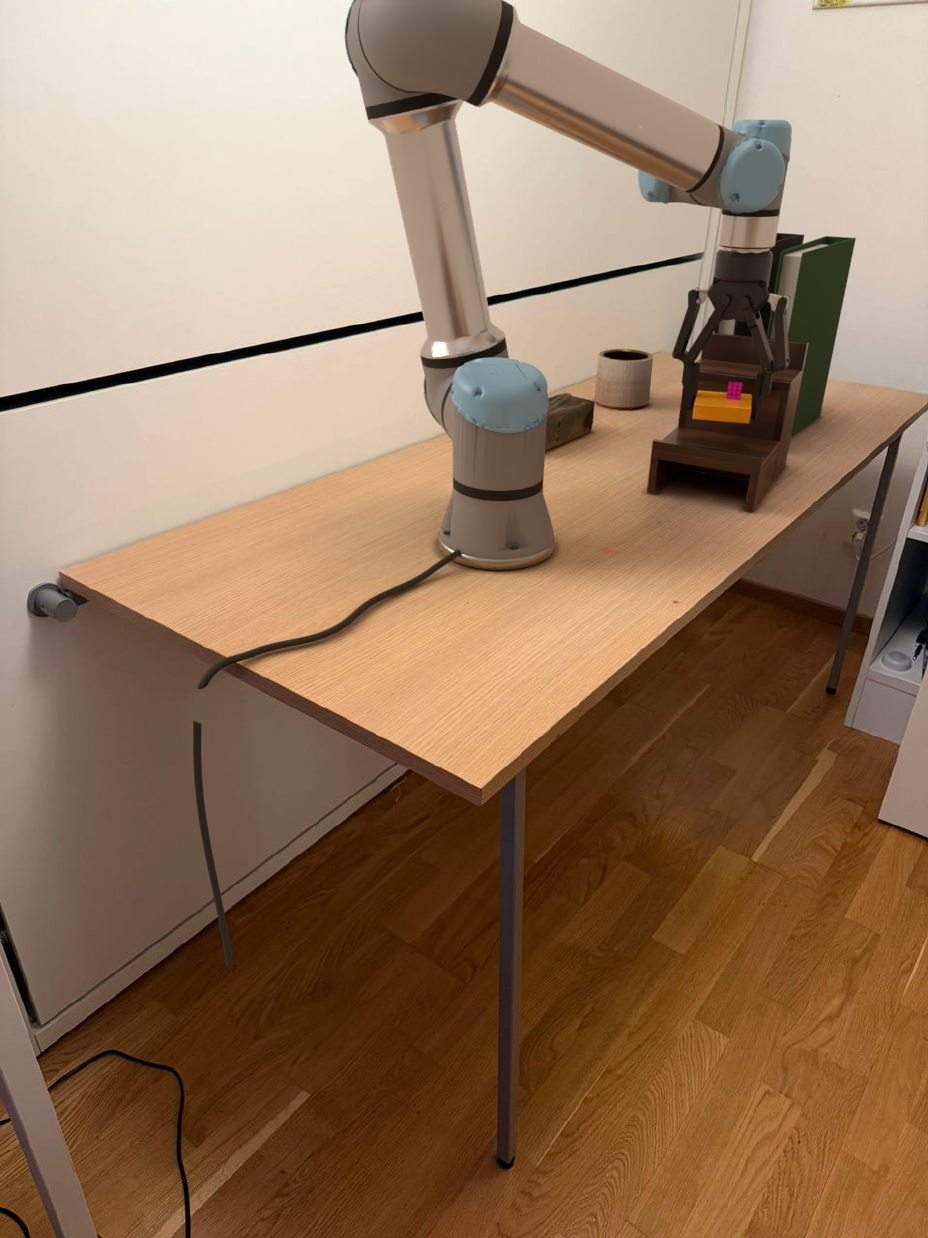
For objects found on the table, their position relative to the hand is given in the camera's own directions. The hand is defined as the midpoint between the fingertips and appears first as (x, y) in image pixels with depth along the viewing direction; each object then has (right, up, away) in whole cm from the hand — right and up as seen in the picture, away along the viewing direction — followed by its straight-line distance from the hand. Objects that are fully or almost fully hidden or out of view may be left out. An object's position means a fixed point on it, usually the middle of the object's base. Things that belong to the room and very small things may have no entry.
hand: (721, 412), depth 132 cm
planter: (-6, +13, +48) cm, 50 cm away
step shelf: (+2, -8, +10) cm, 13 cm away
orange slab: (0, 0, 0) cm, 0 cm away
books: (+17, +5, +34) cm, 38 cm away
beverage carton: (-23, +1, +27) cm, 36 cm away
